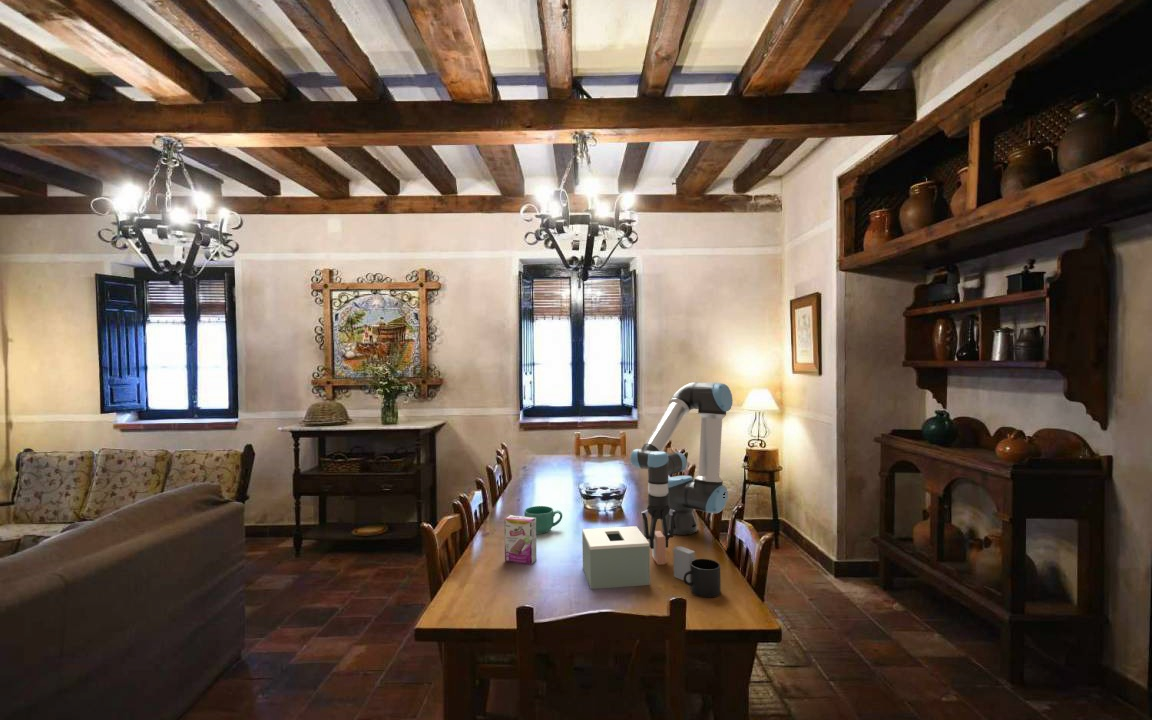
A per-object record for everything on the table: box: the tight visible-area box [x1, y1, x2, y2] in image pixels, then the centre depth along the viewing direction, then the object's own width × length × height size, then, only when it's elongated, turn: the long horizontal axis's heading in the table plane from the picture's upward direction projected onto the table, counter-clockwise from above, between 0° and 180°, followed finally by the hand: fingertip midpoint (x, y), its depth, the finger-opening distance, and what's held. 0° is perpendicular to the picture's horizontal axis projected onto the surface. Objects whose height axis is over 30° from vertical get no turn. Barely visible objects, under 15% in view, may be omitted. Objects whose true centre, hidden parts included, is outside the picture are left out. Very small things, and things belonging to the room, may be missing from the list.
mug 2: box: [683, 558, 722, 599], centre depth 175 cm, size 9×12×9 cm
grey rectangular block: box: [672, 545, 696, 583], centre depth 186 cm, size 3×7×10 cm, turn 38°
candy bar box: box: [504, 514, 537, 566], centre depth 203 cm, size 11×5×16 cm, turn 71°
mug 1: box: [523, 505, 563, 535], centre depth 238 cm, size 17×13×10 cm
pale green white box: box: [581, 525, 651, 590], centre depth 189 cm, size 20×18×14 cm
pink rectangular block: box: [652, 530, 667, 566], centre depth 202 cm, size 3×7×10 cm, turn 8°
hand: (658, 556), depth 202 cm, fingers closed on pink rectangular block, 3 cm apart
